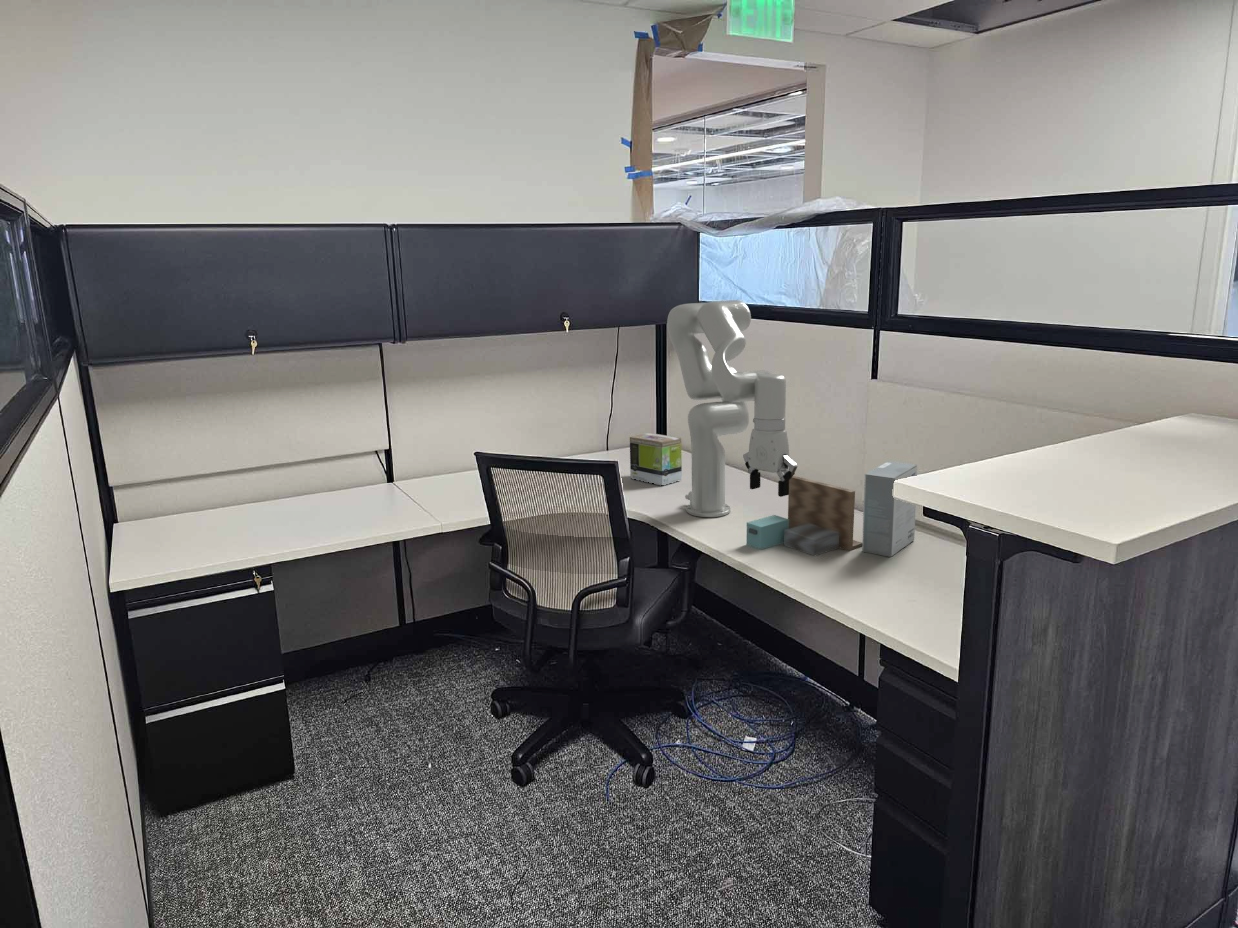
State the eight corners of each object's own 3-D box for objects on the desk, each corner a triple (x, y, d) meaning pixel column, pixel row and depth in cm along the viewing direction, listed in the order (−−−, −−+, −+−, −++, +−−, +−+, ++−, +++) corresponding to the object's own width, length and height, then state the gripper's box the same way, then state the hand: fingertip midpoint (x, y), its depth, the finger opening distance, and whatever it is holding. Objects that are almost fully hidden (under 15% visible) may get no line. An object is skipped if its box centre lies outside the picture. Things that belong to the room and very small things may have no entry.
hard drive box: (885, 535, 213) (889, 460, 208) (914, 540, 208) (919, 464, 204) (860, 551, 201) (864, 473, 197) (891, 557, 197) (895, 477, 192)
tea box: (682, 481, 271) (682, 437, 268) (661, 487, 265) (661, 442, 261) (650, 473, 282) (649, 431, 279) (629, 479, 275) (628, 436, 272)
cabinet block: (744, 545, 208) (745, 522, 207) (773, 536, 214) (774, 514, 213) (759, 550, 204) (759, 527, 203) (788, 541, 210) (788, 519, 209)
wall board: (763, 538, 213) (764, 482, 209) (801, 527, 221) (803, 473, 218) (824, 558, 197) (826, 498, 194) (862, 545, 205) (865, 488, 202)
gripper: (734, 422, 207) (734, 488, 211) (785, 431, 193) (784, 501, 197) (755, 418, 211) (754, 483, 215) (807, 427, 198) (805, 495, 201)
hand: (769, 491), depth 206 cm, fingers open, 9 cm apart
